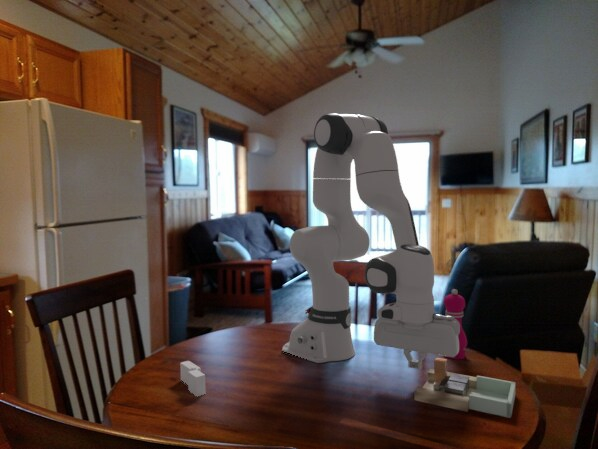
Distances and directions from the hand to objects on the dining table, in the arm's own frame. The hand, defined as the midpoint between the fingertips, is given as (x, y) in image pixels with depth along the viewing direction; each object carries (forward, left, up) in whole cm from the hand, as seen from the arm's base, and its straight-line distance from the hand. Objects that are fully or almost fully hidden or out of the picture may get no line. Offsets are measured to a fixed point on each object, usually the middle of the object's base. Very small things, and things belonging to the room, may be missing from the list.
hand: (415, 367), depth 106 cm
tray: (+17, 0, -6) cm, 18 cm away
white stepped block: (-49, -26, -6) cm, 56 cm away
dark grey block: (+10, +2, -4) cm, 11 cm away
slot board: (+8, 0, -6) cm, 9 cm away
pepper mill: (+4, +28, -6) cm, 29 cm away
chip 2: (+10, -2, -4) cm, 11 cm away
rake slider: (+6, 0, -4) cm, 7 cm away
